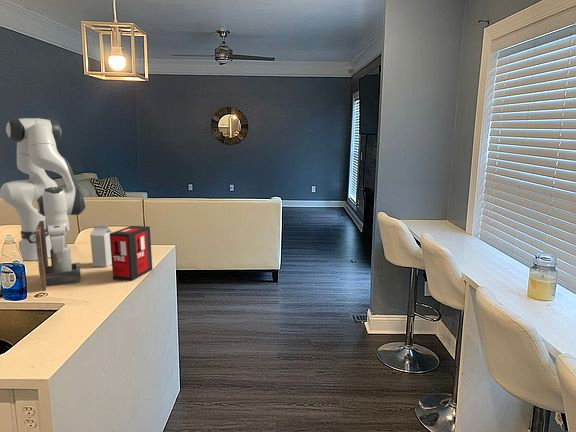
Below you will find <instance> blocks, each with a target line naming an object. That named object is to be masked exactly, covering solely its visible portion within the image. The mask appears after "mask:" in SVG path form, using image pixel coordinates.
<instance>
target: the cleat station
mask: <svg viewBox="0 0 576 432" xmlns="http://www.w3.org/2000/svg"><path fill="white" fill-rule="evenodd" d="M35 238H36V247H37V256H38V260H37V263H38V271H39V281H40V282H39V283H40V291H41V292H46V290H47V287H52V286H54V287H55V286H60V285H61V286H62V285H68V284H69V285H70V284H77V283H81V269H80V268H81V267H80V266H81V265H80V262H75V263H71V264H72V271H66V272H58V273H52V265H49V258H48V256H47V246H46V237H45V227H44V221H40V222H39V224H38V226H37V228H36V230H35Z"/></svg>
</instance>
